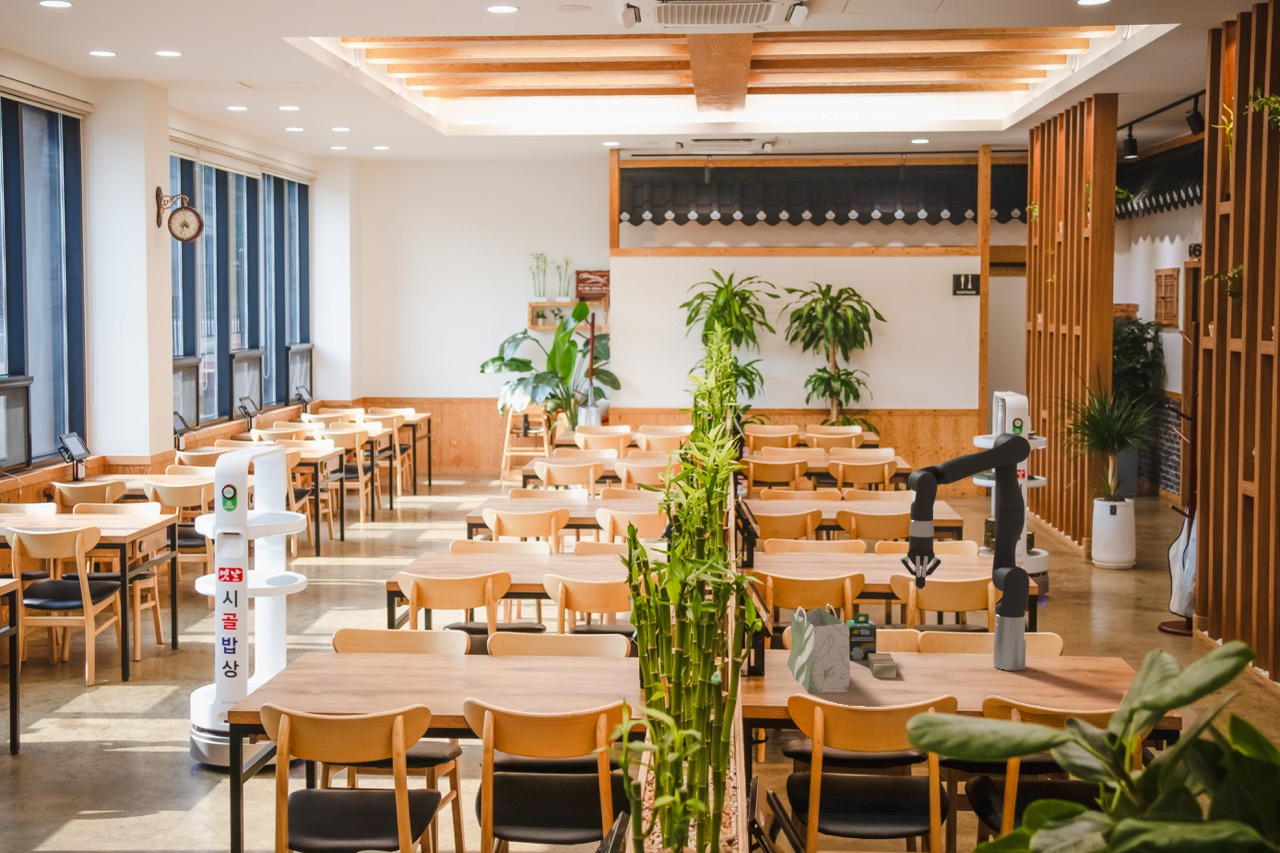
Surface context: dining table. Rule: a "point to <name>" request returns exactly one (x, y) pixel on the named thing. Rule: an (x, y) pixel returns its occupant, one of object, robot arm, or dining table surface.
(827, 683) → the grocery bag
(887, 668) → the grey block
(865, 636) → the chalk box
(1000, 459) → the robot arm
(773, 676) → the dining table surface
